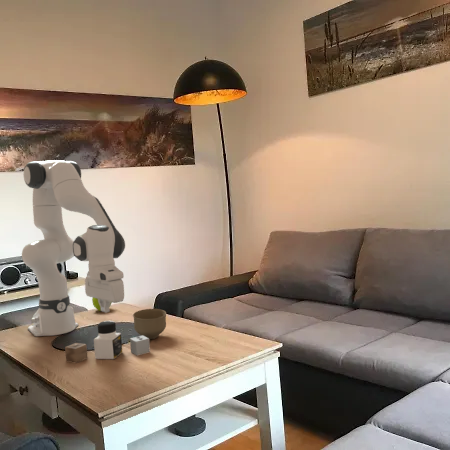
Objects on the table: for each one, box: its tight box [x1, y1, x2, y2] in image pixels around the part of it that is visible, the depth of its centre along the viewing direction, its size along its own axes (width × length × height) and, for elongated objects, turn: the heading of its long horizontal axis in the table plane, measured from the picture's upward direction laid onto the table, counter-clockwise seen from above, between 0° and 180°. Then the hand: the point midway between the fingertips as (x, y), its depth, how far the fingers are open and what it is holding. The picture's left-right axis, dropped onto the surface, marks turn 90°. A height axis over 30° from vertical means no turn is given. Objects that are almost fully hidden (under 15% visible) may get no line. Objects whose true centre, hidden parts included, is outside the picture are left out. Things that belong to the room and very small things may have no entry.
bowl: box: [132, 308, 167, 340], centre depth 189 cm, size 13×13×10 cm
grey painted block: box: [129, 335, 151, 356], centre depth 174 cm, size 5×5×5 cm
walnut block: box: [64, 342, 89, 364], centre depth 170 cm, size 5×5×5 cm
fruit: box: [91, 297, 113, 312], centre depth 238 cm, size 9×9×10 cm
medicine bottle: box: [93, 320, 123, 360], centre depth 172 cm, size 7×7×12 cm
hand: (105, 311), depth 171 cm, fingers closed
